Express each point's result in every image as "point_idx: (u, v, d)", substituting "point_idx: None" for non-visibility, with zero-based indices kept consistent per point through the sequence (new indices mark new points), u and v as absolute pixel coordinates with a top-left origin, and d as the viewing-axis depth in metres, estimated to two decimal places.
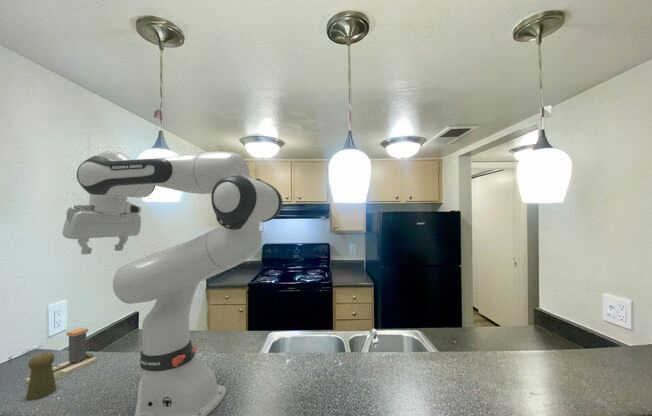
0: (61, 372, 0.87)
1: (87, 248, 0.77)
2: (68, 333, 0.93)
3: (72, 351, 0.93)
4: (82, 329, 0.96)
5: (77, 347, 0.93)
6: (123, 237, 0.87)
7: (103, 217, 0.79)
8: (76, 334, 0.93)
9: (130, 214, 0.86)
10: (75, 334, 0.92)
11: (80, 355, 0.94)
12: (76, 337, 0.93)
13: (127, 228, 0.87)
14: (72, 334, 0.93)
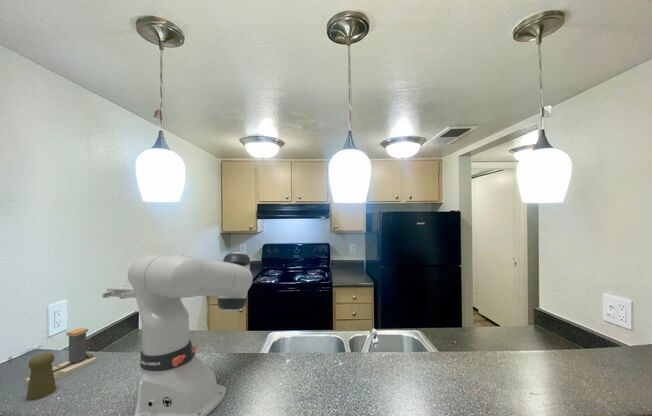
0: (61, 372, 0.87)
1: None
2: (68, 333, 0.93)
3: (72, 351, 0.93)
4: (82, 329, 0.96)
5: (77, 347, 0.93)
6: (113, 294, 1.12)
7: None
8: (76, 334, 0.93)
9: None
10: (75, 334, 0.92)
11: (80, 355, 0.94)
12: (76, 337, 0.93)
13: None
14: (72, 334, 0.93)
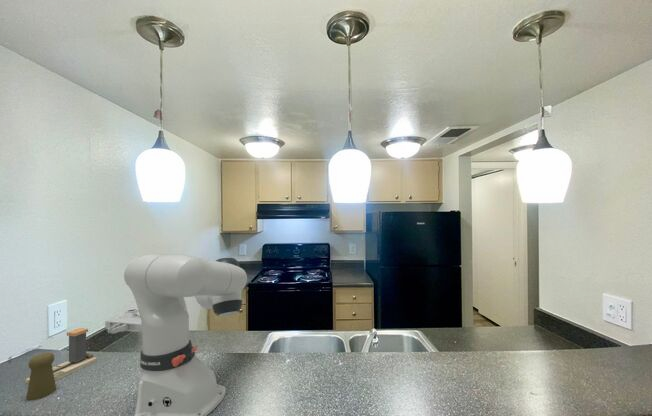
0: (61, 372, 0.87)
1: None
2: (68, 333, 0.93)
3: (72, 351, 0.93)
4: (82, 329, 0.96)
5: (77, 347, 0.93)
6: None
7: None
8: (76, 334, 0.93)
9: None
10: (75, 334, 0.92)
11: (80, 355, 0.94)
12: (76, 337, 0.93)
13: None
14: (72, 334, 0.93)
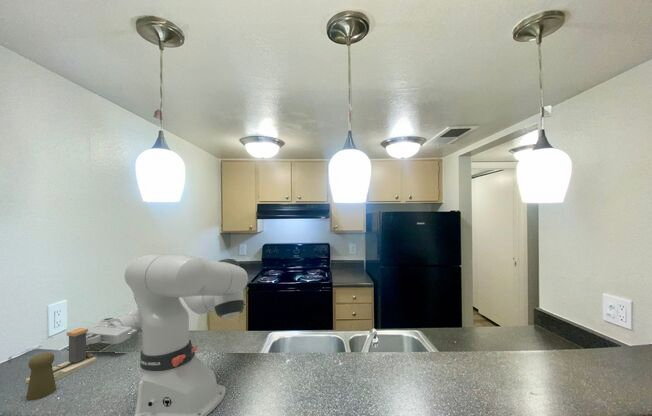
0: (61, 372, 0.87)
1: None
2: (68, 333, 0.93)
3: (72, 351, 0.93)
4: (82, 329, 0.96)
5: (77, 347, 0.93)
6: None
7: None
8: (76, 334, 0.93)
9: None
10: (75, 334, 0.92)
11: (80, 355, 0.94)
12: (76, 337, 0.93)
13: None
14: (72, 334, 0.93)
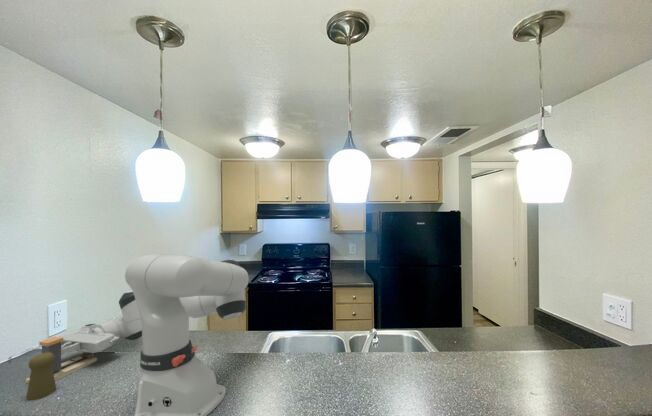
0: (61, 372, 0.87)
1: None
2: (41, 343, 0.86)
3: None
4: (57, 338, 0.89)
5: None
6: None
7: None
8: (49, 344, 0.86)
9: None
10: (48, 344, 0.85)
11: (55, 366, 0.87)
12: (49, 347, 0.86)
13: None
14: (45, 344, 0.86)
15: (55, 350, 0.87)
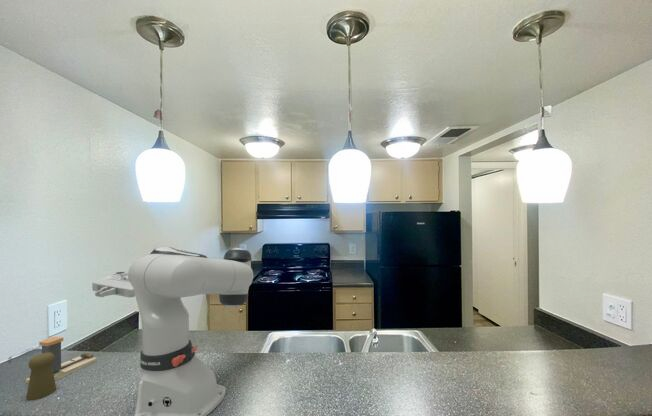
0: (61, 372, 0.87)
1: None
2: (41, 343, 0.86)
3: None
4: (57, 338, 0.89)
5: None
6: None
7: None
8: (49, 344, 0.86)
9: None
10: (48, 344, 0.85)
11: (55, 366, 0.87)
12: (49, 347, 0.86)
13: None
14: (45, 344, 0.86)
15: (55, 350, 0.87)
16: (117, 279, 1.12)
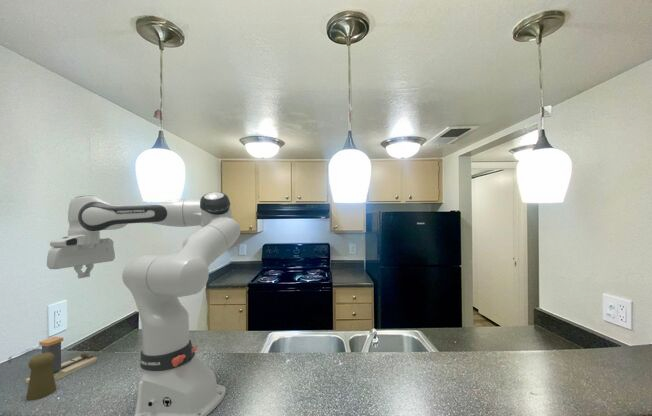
0: (61, 372, 0.87)
1: None
2: (41, 343, 0.86)
3: None
4: (57, 338, 0.89)
5: None
6: None
7: None
8: (49, 344, 0.86)
9: None
10: (48, 344, 0.85)
11: (55, 366, 0.87)
12: (49, 347, 0.86)
13: None
14: (45, 344, 0.86)
15: (55, 350, 0.87)
16: (76, 250, 0.97)
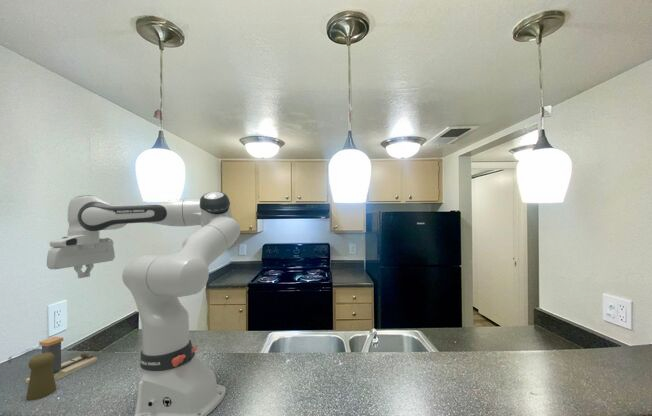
0: (61, 372, 0.87)
1: None
2: (41, 343, 0.86)
3: None
4: (57, 338, 0.89)
5: None
6: None
7: None
8: (49, 344, 0.86)
9: None
10: (48, 344, 0.85)
11: (55, 366, 0.87)
12: (49, 347, 0.86)
13: None
14: (45, 344, 0.86)
15: (55, 350, 0.87)
16: (76, 250, 0.97)
